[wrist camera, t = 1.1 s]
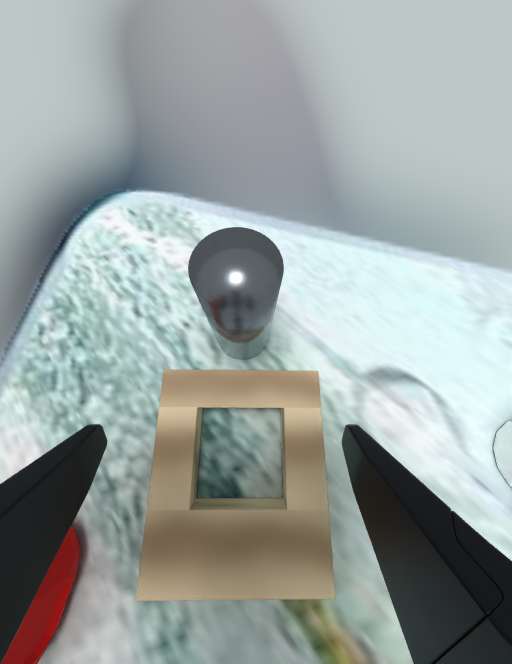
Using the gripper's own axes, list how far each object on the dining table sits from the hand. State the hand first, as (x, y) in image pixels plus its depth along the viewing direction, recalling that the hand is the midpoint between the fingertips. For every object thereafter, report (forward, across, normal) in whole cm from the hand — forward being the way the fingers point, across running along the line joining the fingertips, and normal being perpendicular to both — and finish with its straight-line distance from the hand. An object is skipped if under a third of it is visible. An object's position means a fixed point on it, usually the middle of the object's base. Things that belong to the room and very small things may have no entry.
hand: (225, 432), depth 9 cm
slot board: (+8, 0, +11) cm, 14 cm away
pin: (+15, 0, +4) cm, 16 cm away
